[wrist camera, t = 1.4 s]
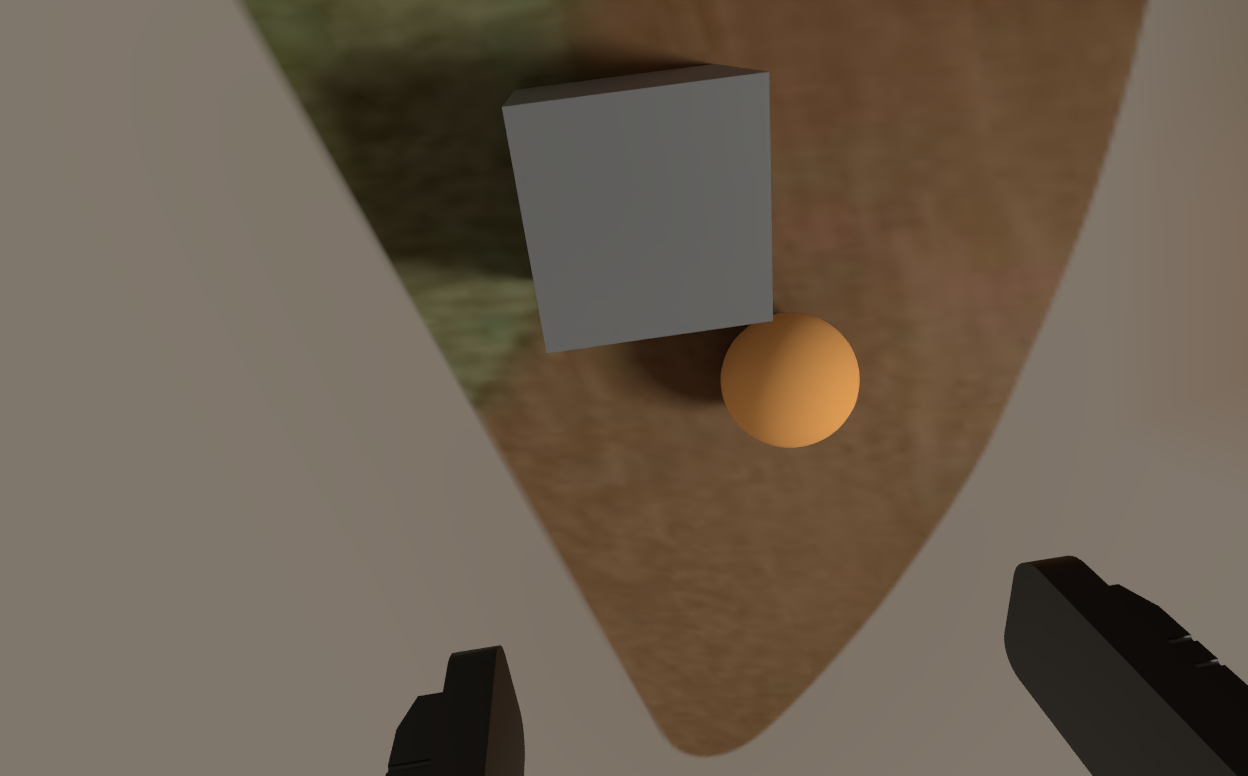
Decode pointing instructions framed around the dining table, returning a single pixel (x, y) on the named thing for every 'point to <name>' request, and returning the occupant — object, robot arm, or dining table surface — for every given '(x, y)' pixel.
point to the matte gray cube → (645, 202)
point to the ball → (790, 380)
